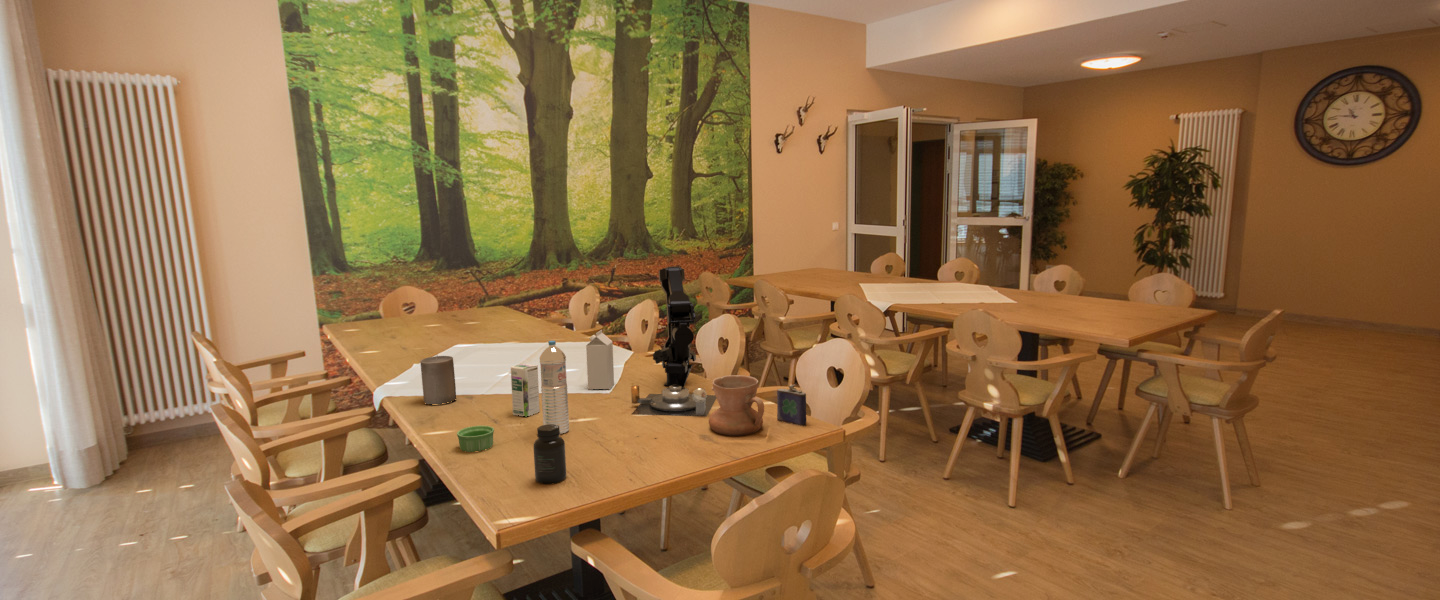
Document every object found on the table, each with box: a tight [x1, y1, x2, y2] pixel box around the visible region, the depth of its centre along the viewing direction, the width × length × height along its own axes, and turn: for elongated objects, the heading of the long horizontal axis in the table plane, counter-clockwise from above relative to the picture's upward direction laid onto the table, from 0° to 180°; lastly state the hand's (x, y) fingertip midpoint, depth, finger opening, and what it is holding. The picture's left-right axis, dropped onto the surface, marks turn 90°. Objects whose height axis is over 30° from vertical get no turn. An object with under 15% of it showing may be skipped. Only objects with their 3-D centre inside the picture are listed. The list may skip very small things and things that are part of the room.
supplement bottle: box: [533, 424, 567, 485], centre depth 160 cm, size 7×7×12 cm
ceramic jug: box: [708, 374, 765, 437], centre depth 190 cm, size 18×14×14 cm
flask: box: [776, 384, 807, 427], centre depth 198 cm, size 9×3×11 cm, turn 50°
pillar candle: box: [419, 354, 457, 405], centre depth 225 cm, size 10×10×15 cm
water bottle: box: [539, 340, 570, 435], centre depth 192 cm, size 7×7×25 cm
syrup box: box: [510, 363, 541, 418], centre depth 210 cm, size 6×6×14 cm
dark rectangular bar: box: [691, 387, 708, 416], centre depth 203 cm, size 3×4×8 cm
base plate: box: [630, 393, 717, 417], centre depth 215 cm, size 22×22×1 cm
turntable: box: [630, 384, 696, 411], centre depth 215 cm, size 16×22×5 cm
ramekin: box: [456, 425, 495, 453], centre depth 183 cm, size 9×9×4 cm
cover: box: [661, 385, 690, 404], centre depth 214 cm, size 8×8×4 cm
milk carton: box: [585, 329, 615, 390], centre depth 238 cm, size 7×7×19 cm
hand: (681, 388), depth 222 cm, fingers closed
